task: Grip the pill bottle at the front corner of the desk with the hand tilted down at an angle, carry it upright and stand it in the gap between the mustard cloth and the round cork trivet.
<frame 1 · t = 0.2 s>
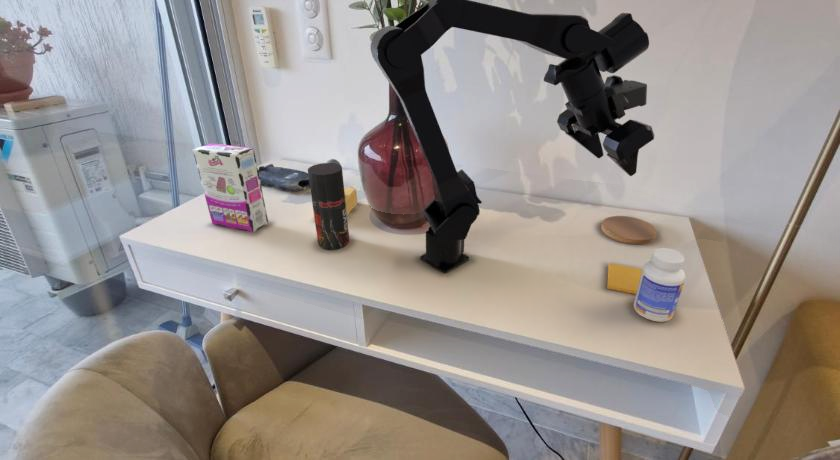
hand: (616, 165, 77), 15 cm above the table, tool tilted 35°, fingers open, 9 cm apart
candy bar box: (241, 225, 91), on the table
cork trivet: (628, 231, 86), on the table
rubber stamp: (337, 212, 96), on the table
deodorant: (334, 243, 84), on the table
pill bottle: (652, 311, 65), on the table
electronic device: (284, 184, 110), on the table
mustard cloth: (630, 281, 71), on the table
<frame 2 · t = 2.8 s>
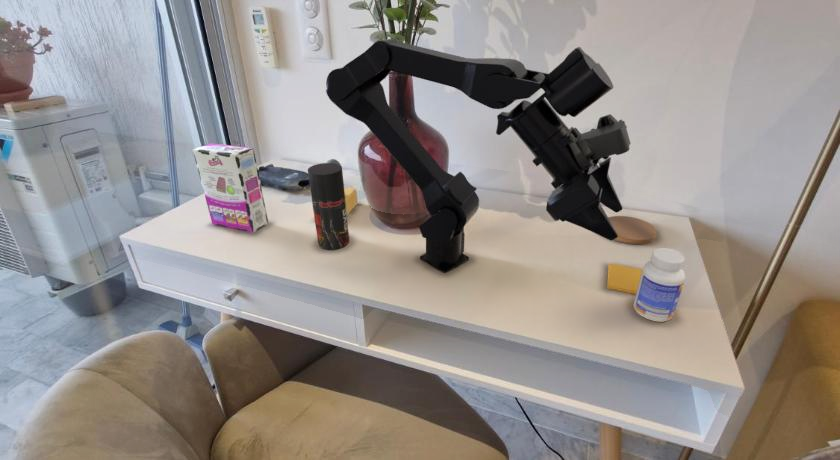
hand: (617, 223, 61), 13 cm above the table, tool tilted 45°, fingers open, 9 cm apart
nothing on the table moved.
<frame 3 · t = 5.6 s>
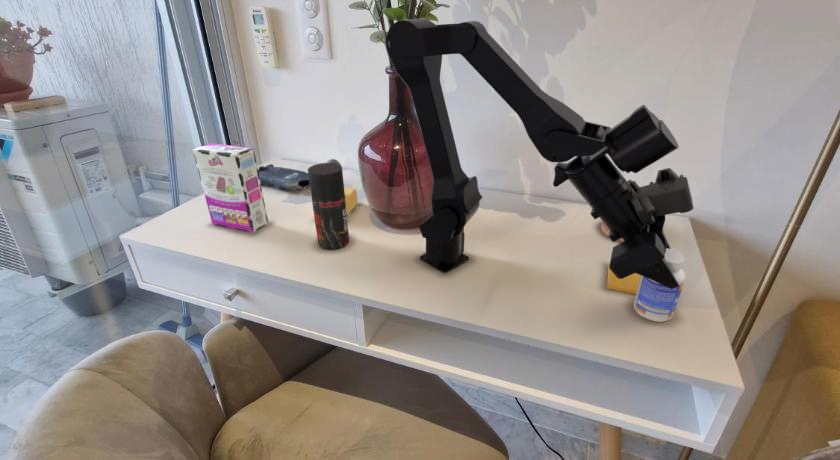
hand: (674, 276, 61), 7 cm above the table, tool tilted 45°, fingers closed on pill bottle, 5 cm apart
pill bottle: (652, 311, 65), on the table, touching gripper
everything else where it was.
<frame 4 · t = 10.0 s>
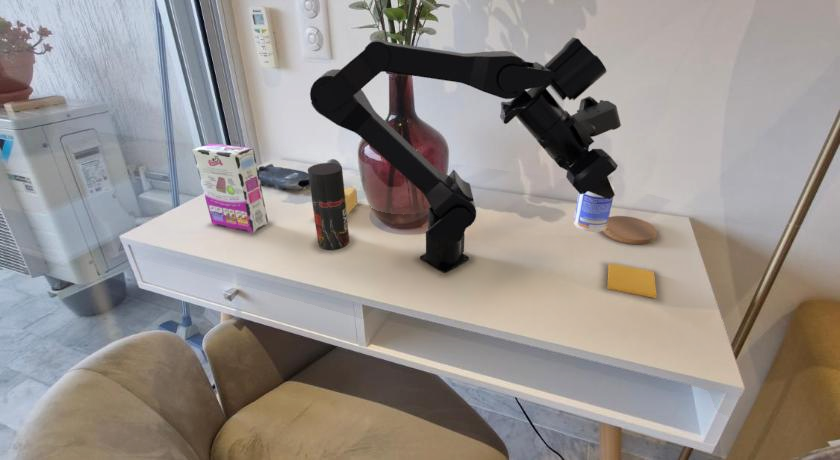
hand: (605, 189, 71), 13 cm above the table, tool tilted 45°, fingers closed on pill bottle, 5 cm apart
pill bottle: (589, 226, 74), point 7 cm above the table, touching gripper
everything else where it was.
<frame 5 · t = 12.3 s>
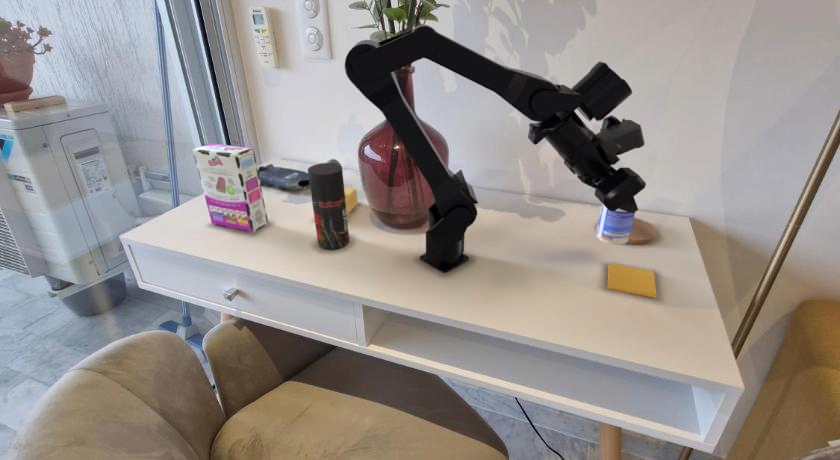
hand: (627, 204, 74), 10 cm above the table, tool tilted 45°, fingers closed on pill bottle, 5 cm apart
pill bottle: (611, 238, 77), point 3 cm above the table, touching gripper
everything else where it was.
when the fingers open (7 cm above the table, at t = 14.3 s): pill bottle stays where it is, on the table.
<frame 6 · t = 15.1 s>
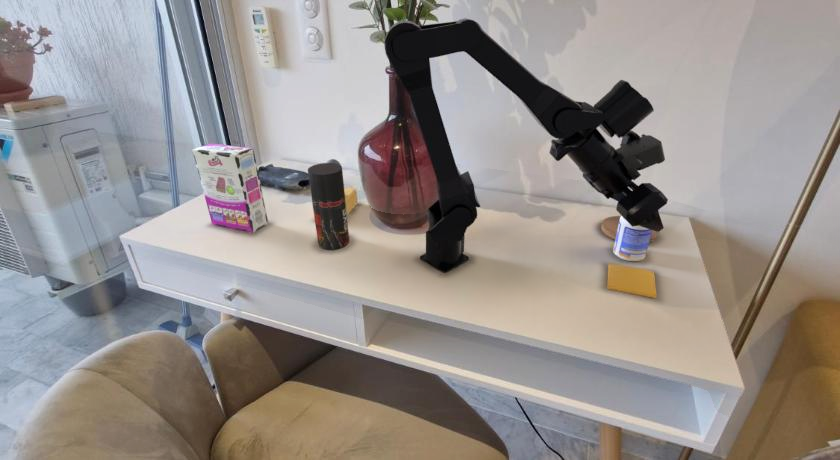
hand: (646, 216, 75), 7 cm above the table, tool tilted 45°, fingers open, 9 cm apart
pill bottle: (628, 255, 79), on the table
everything else where it was.
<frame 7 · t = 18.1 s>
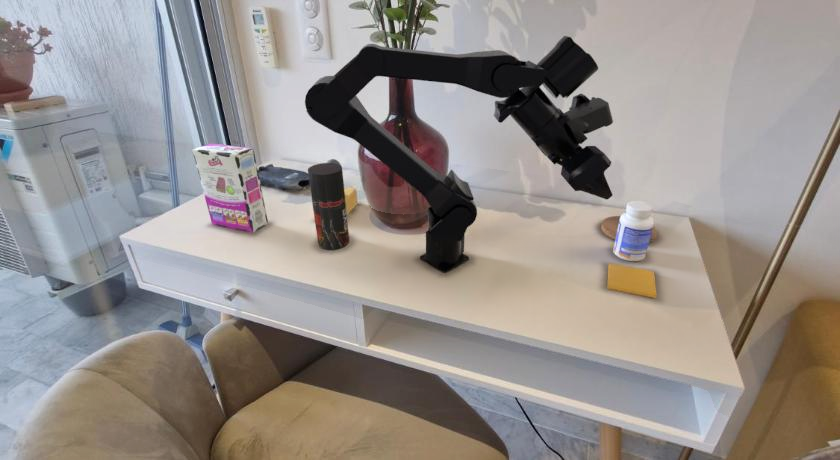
hand: (598, 185, 72), 14 cm above the table, tool tilted 45°, fingers open, 9 cm apart
nothing on the table moved.
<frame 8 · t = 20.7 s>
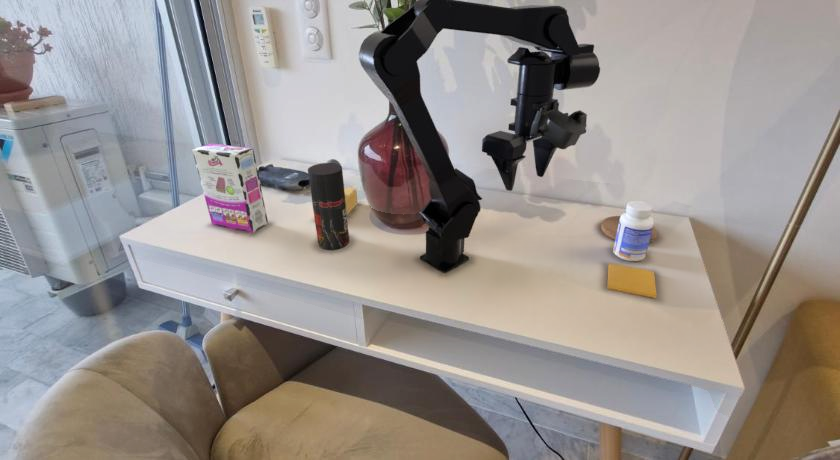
hand: (525, 183, 78), 12 cm above the table, tool pointing down, fingers open, 9 cm apart
nothing on the table moved.
at the end: pill bottle 0.2 cm from the target spot on the table beside the cork trivet, on the table; pill bottle tilted 0°; the gripper is holding nothing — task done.
